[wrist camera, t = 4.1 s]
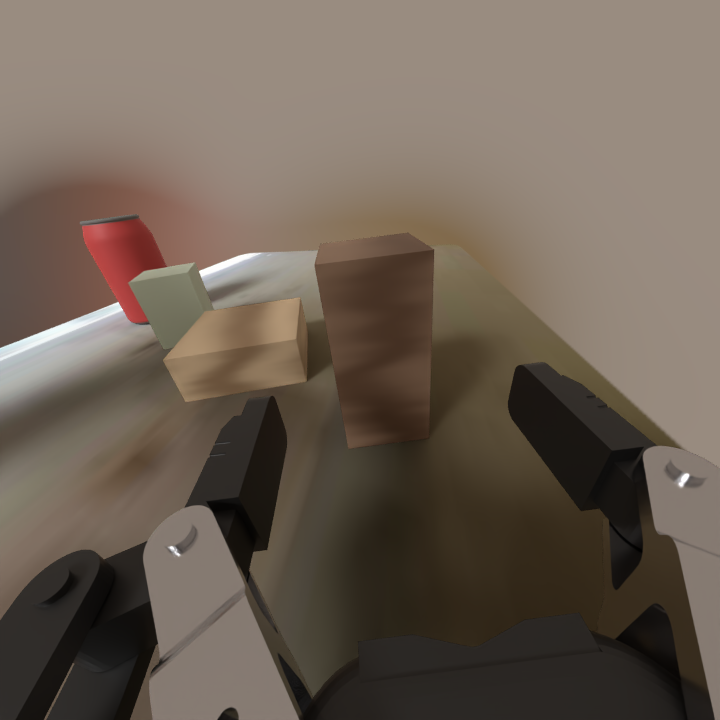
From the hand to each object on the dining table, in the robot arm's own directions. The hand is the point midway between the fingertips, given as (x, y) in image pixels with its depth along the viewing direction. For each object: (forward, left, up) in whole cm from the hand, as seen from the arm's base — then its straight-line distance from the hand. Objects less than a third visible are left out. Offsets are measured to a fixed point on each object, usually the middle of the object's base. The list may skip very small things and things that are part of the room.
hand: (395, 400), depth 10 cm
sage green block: (-19, +23, -6) cm, 30 cm away
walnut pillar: (0, +6, -6) cm, 8 cm away
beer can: (-27, +31, -6) cm, 41 cm away
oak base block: (-10, +15, -6) cm, 19 cm away
